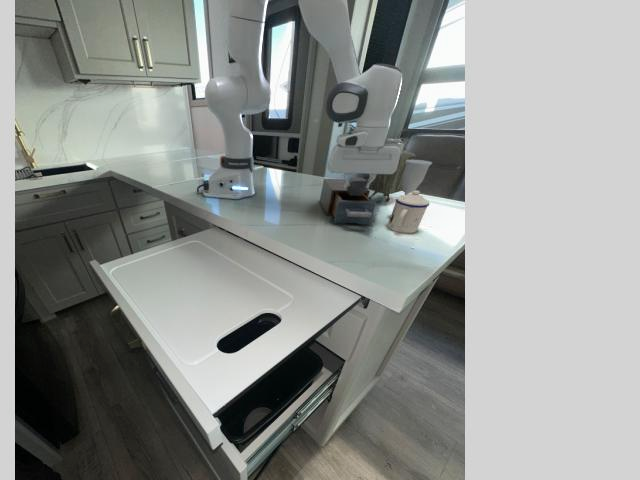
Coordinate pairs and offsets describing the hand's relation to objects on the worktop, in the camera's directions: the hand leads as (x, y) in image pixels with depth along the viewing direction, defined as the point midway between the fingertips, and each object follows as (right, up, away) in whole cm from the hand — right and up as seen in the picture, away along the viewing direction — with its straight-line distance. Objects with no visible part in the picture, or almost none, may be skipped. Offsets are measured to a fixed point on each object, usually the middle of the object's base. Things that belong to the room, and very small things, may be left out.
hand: (356, 188), depth 85 cm
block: (0, -1, +1) cm, 2 cm away
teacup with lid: (+14, -13, 0) cm, 20 cm away
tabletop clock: (+21, +5, +24) cm, 32 cm away
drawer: (0, -8, +6) cm, 10 cm away
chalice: (+18, -7, +8) cm, 21 cm away
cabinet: (+1, -1, +16) cm, 16 cm away
